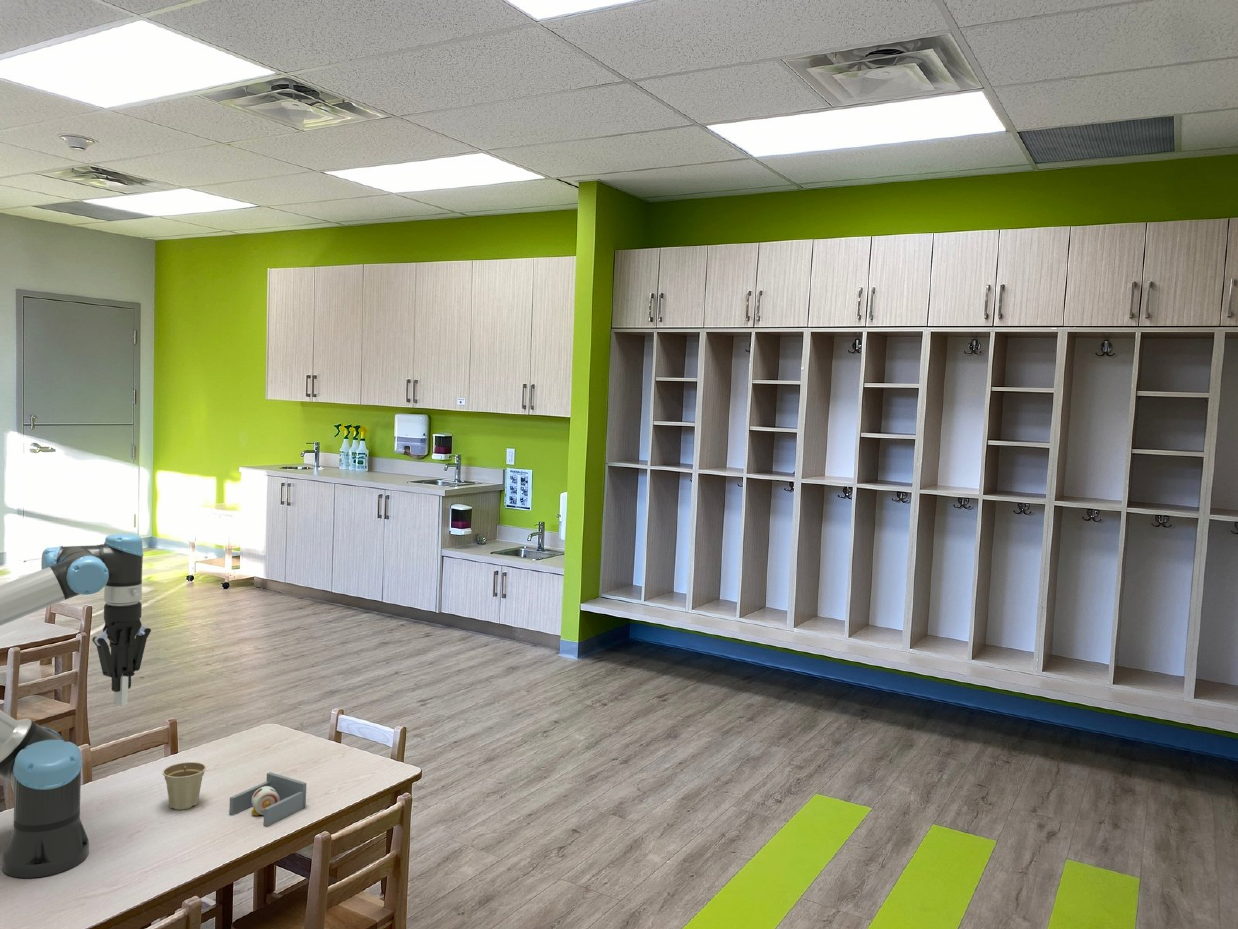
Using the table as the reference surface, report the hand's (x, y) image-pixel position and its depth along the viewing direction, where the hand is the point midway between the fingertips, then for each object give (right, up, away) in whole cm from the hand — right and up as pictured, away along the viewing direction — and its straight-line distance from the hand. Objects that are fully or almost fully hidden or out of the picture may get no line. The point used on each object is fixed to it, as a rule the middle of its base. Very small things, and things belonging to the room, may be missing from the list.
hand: (120, 704), depth 206 cm
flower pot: (+10, -27, +9) cm, 30 cm away
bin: (+30, -28, +8) cm, 42 cm away
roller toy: (+30, -28, +8) cm, 42 cm away
